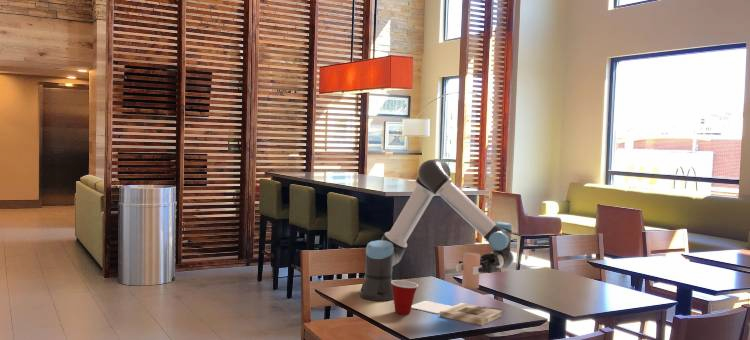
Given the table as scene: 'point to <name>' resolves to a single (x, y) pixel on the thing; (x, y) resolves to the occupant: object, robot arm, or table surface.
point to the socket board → (482, 318)
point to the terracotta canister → (470, 270)
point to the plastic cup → (403, 295)
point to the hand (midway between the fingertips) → (465, 269)
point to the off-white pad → (430, 307)
